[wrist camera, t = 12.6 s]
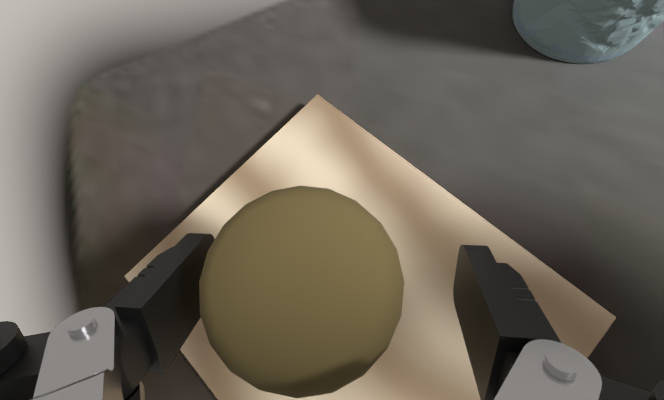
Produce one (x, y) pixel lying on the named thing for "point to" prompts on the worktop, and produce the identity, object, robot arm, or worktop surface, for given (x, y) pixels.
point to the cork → (301, 292)
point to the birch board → (413, 250)
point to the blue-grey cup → (585, 27)
